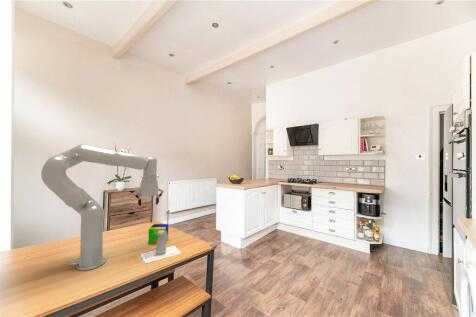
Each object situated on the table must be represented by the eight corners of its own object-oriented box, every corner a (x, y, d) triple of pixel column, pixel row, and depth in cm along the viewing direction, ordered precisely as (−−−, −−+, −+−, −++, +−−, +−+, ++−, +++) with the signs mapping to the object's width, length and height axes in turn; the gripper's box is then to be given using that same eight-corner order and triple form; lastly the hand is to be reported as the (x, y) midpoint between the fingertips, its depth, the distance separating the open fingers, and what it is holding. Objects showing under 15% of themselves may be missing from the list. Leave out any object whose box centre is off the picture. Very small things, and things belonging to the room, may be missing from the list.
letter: (145, 263, 106) (145, 263, 106) (140, 254, 117) (140, 253, 117) (181, 253, 118) (181, 253, 118) (174, 245, 128) (174, 245, 128)
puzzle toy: (168, 238, 141) (168, 223, 141) (164, 244, 131) (164, 228, 131) (153, 238, 140) (153, 224, 140) (148, 244, 130) (148, 229, 130)
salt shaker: (154, 256, 114) (155, 233, 114) (156, 251, 119) (156, 229, 120) (165, 254, 115) (165, 232, 115) (166, 250, 121) (166, 229, 121)
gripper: (162, 176, 132) (161, 202, 132) (133, 177, 123) (132, 205, 122) (165, 177, 126) (164, 204, 126) (134, 178, 116) (133, 207, 116)
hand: (148, 204), depth 124 cm, fingers open, 9 cm apart
